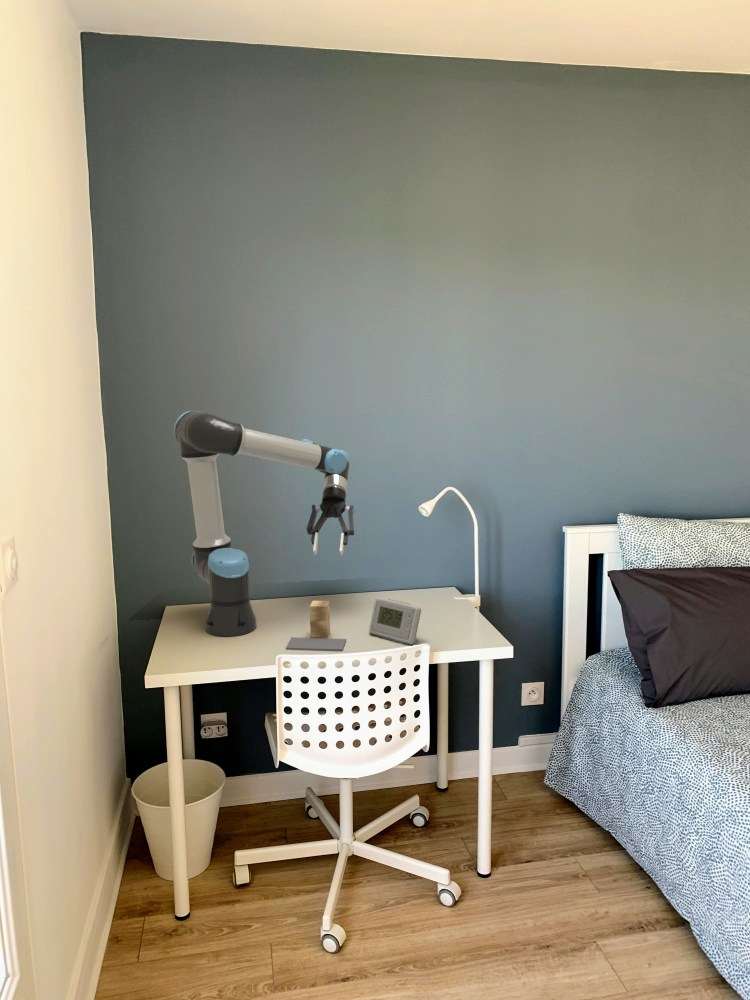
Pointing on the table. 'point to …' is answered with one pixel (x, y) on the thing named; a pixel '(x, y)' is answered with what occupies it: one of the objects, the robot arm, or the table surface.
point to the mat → (316, 644)
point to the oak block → (320, 619)
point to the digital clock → (395, 620)
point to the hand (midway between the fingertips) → (328, 552)
